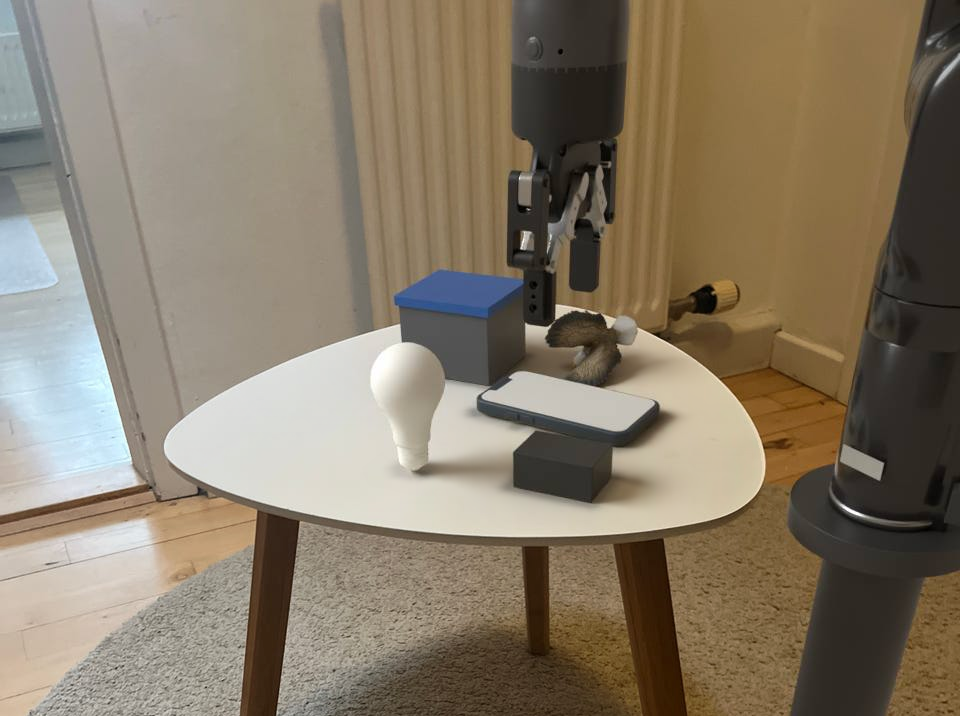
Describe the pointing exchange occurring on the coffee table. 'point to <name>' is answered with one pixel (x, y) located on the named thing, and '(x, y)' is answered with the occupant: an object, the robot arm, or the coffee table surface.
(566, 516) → the coffee table surface
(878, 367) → the robot arm
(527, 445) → the case
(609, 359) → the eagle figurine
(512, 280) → the container
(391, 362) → the lightbulb
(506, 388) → the smartphone
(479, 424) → the coffee table surface
